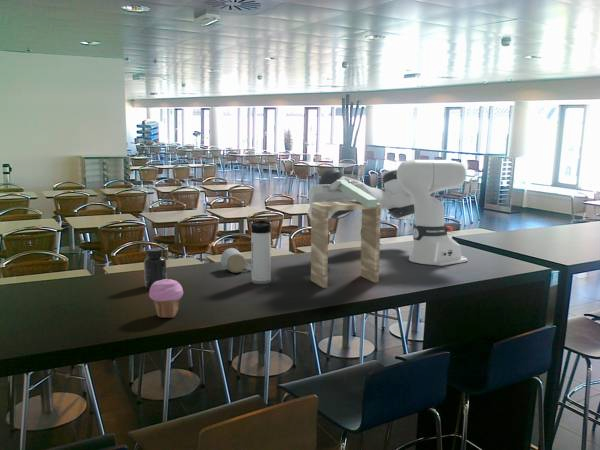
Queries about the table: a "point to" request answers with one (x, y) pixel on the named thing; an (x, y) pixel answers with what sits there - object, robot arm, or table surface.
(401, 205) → the robot arm
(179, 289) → the cupcake
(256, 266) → the travel mug
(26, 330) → the table surface
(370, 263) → the frame
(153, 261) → the supplement bottle
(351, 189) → the bar
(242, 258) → the ceramic mug
